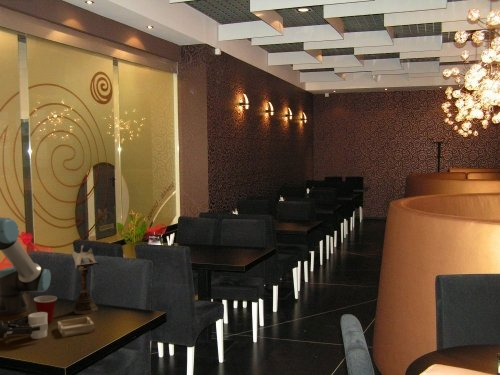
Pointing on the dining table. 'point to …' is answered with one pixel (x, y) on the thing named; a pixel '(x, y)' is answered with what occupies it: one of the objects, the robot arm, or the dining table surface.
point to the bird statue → (84, 281)
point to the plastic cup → (46, 305)
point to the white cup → (36, 320)
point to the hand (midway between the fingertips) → (45, 322)
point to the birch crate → (75, 326)
